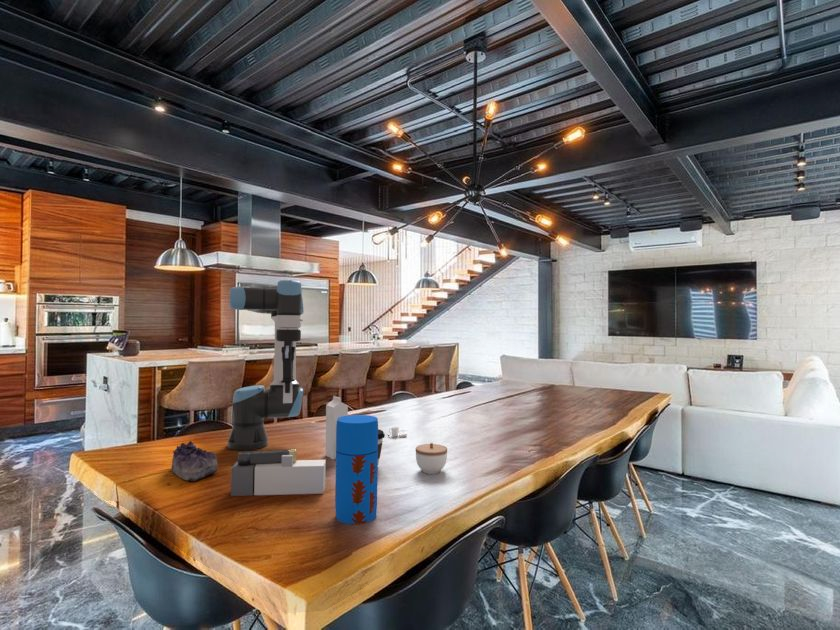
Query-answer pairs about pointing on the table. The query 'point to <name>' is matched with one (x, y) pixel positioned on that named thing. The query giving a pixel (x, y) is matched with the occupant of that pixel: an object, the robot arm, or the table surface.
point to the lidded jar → (431, 457)
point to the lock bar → (264, 456)
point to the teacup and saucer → (395, 432)
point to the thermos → (356, 468)
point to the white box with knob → (279, 477)
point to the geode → (193, 462)
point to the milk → (333, 424)
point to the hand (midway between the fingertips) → (287, 402)
